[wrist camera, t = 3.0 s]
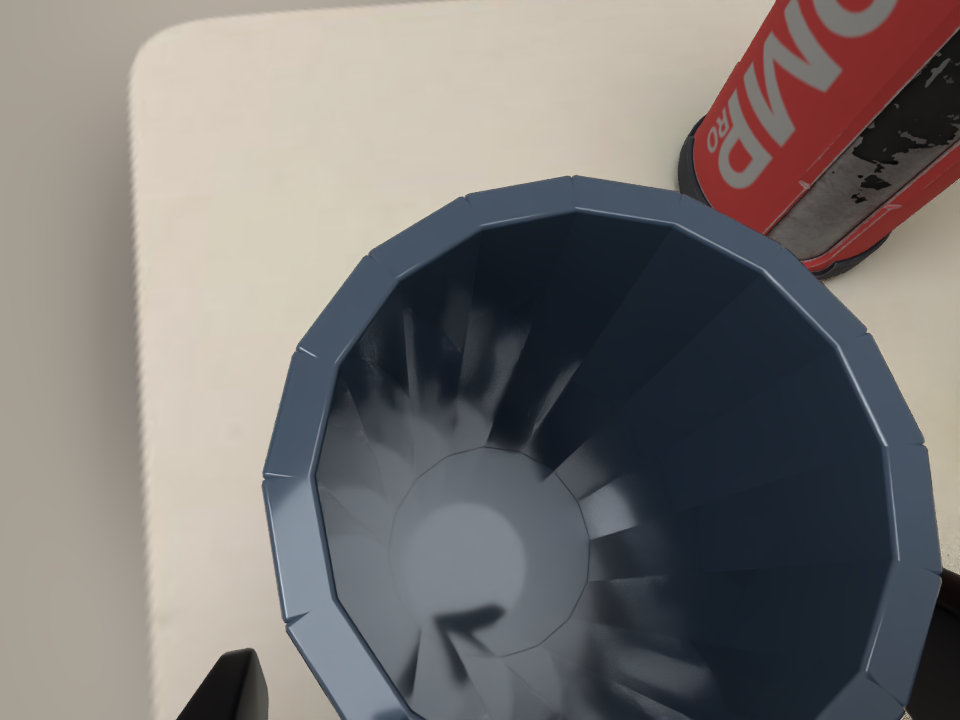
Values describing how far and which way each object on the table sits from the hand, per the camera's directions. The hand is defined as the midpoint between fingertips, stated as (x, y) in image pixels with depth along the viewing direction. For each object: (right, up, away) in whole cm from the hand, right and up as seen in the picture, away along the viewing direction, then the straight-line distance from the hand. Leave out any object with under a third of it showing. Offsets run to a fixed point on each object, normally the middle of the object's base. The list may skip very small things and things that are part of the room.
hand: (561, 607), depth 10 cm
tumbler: (-1, -2, +9) cm, 9 cm away
